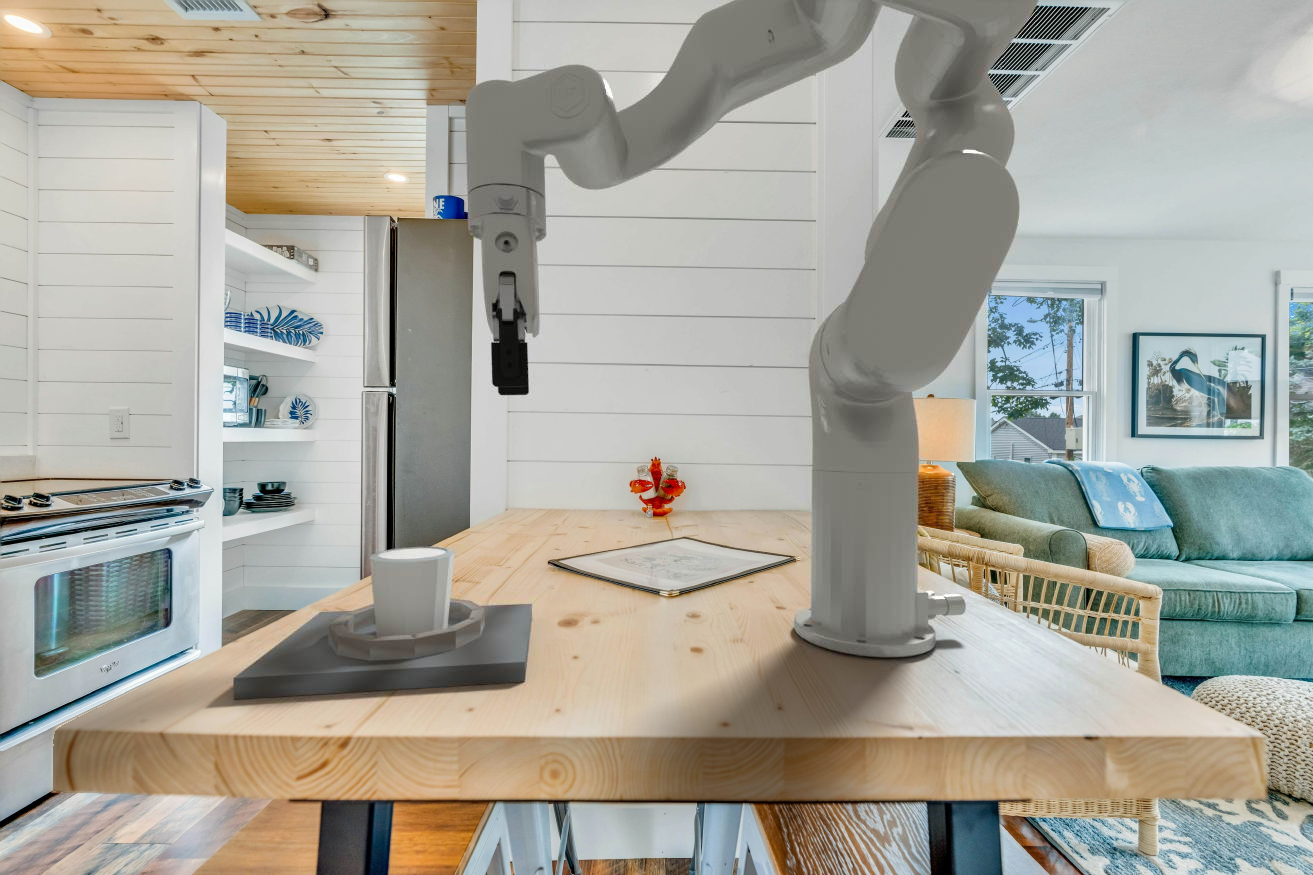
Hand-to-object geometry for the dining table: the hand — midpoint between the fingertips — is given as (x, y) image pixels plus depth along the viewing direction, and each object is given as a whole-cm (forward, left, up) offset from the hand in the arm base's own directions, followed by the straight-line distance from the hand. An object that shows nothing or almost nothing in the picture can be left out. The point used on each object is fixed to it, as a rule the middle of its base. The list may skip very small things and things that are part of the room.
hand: (512, 391), depth 59 cm
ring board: (+8, +6, -23) cm, 25 cm away
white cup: (+8, +6, -22) cm, 24 cm away
